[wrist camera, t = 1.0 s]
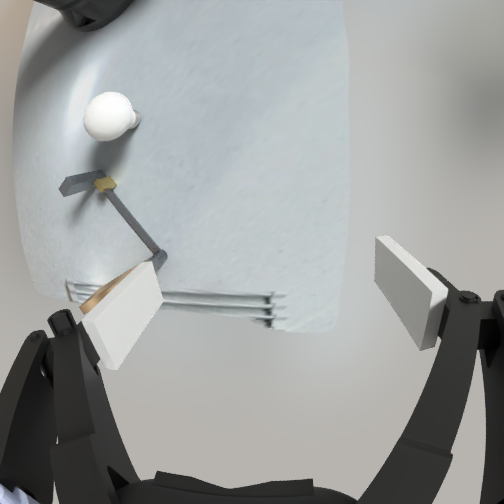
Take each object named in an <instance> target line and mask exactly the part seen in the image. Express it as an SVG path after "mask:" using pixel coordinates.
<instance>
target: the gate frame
mask: <svg viewBox="0 0 504 504" xmlns="http://www.w3.org/2000/svg"><path fill="white" fill-rule="evenodd" d="M116 186H117V185H116V183H115V182H114V181H113V179H112V178H111V177H110V176H109V177H106V176H105V175H104V173H103V172H102V171H101V170H98V171H93V172H88V173H83V174H78V175H73V176H69V177H66V178H65V180H64V181H63V183H62V185H61V186H60V188H59V190H60V192H61V193H62V195H63V196H64V197H66V196H69V195H72V194H76V193H79V192H82V191H85V190H89V189H92V188H96V187H97V189H98V190H99V191H100V193H101V192H105V194H106V195H107V196H108V198H109V199H110V200H111V201H112V203H113V204H114V205H115V207H116V208H117V209H118V210H119V212H120V213H121V214H122V215H123V217H124V218H125V219H126V220H127V222H128V223H129V224H130V225H131V227H132V228H133V229H134V230H135V231H136V233H137V234H138V235H139V236H140V237H141V239H142V240H143V241H144V242H145V243H146V245H147V246H148V247H149V248H150V249H151V250H152V252H153V253H154V255H153V256H152V257H150V258H149V259H148V260H147V261H146V262H149V261H152V263H153V267H154V270H155V271H156V270H157V269H158V268H159V267H160V266H161V265H162V264H163V263H164V262H165V260H166V259H167V253H166V252H165V251H164V250H161V249H160V248H159V247H158V246H157V244H156V243H155V242H154V241H153V240H152V239H151V237H150V236H149V235H148V234H147V233H146V231H145V230H144V229H143V228H142V227H141V225H140V224H139V223H138V222H137V221H136V219H135V218H134V217H133V216H132V214H131V213H130V212H129V211H128V209H127V208H126V207H125V206H124V204H123V203H122V202H121V201H120V199H119V198H118V197H117V196H116V194H115V193H114V192H113V190H112V189H114V188H115V187H116Z"/></svg>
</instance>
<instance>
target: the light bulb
mask: <svg viewBox="0 0 504 504" xmlns="http://www.w3.org/2000/svg"><path fill="white" fill-rule="evenodd" d="M140 120H141V117H140V114H139V113H138V112H137V111H134V110H132V107H131V104H130V102H129V101H128V99H127V98H126V97H125V96H123V95H122V94H120V93H117V92H106V93H102V94H100V95H98V96H97V97H95V98H94V99H93V100H92V101H91V102H90V103H89V104H88V106H87V108H86V110H85V113H84V127H85V129H86V131H87V132H88V134H89V135H90V136H91V137H93V138H94V139H96V140H100V141H110V140H114V139H116V138H118V137H119V136H121V135H122V134H123V133H124V132H125V131H126V130H127V129H133V128H135V127H136V126H137V125H138V124H139V122H140Z"/></svg>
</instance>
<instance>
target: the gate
mask: <svg viewBox="0 0 504 504" xmlns="http://www.w3.org/2000/svg"><path fill="white" fill-rule="evenodd" d="M147 260H148V259H147ZM147 260H145V261H143V262H146V261H147ZM138 265H139V264H138ZM138 265H137V266H138ZM137 266H135V267H133V268H132V269H130V270H129V271H127V272H125V273H124V274H122V275H120V276H119V277H117V278H115V279H114V280H112V281H111V282H109V283H107V284H106V285H104V286H103V287H101V288H99V289H98V290H97V291H96V292H95V293H94V294H93V295H92V296H91V297H90V298H88V299H87V300H86V301H85V302H84V303H83V304H82V305H81V306H80V307H79V308H80V309H81V311H82V312H83V313H84V314H86V313H88V312H89V311H91V310H92V309H93V308H94V307H95V306H96V305H97V304H98V303H99V302H100V301H101V300H102V299H103V298H104V297H105V296H106V295H107V294H108V293H109V292H110V291H111V290H112V289H113V288H114V287H116V286H117V285H118V284H119V283H120V282H121V281H122V280H123V279H124V278H125V277H126V276H127V275H128V274H129V273H130V272H131V271H133V270H134V269H135V268H136V267H137Z"/></svg>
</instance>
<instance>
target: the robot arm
mask: <svg viewBox="0 0 504 504" xmlns="http://www.w3.org/2000/svg"><path fill="white" fill-rule="evenodd" d="M34 1H36V2H39V3H42V4H44V5H47V6H49V7H51V8H54V9H56V10H58V11H59V12H60V13H61V15H62V16H63V17H64V19H65V20H66V21H67V23H68V24H69V25H70V26H71V27H73V28H75V29H77V30H79V31H83V32H87V31H93V30H96V29H98V28H101V27H103V26H104V25H106V24H108V23H109V22H111V21H112V20H114V19H115V18H116V17H118V16H119V15H120V14H121V13H122V12H123V11H124V10H125V9H126V8H127V7H128V6H129V5H130V3H131V2H132V1H133V0H34ZM375 248H376V249H375V280H374V281H375V282H376V284H377V285H378V286H379V288H380V289H381V291H382V292H383V294H384V295H385V297H386V298H387V300H388V301H389V302H390V304H391V306H392V307H393V309H394V310H395V312H396V313H397V315H398V316H399V318H400V319H401V321H402V323H403V324H404V326H405V327H406V329H407V330H408V332H409V334H410V335H411V337H412V339H413V340H414V342H415V343H416V345H417V347H418V348H419V350H420V351H421V350H425V349H428V348H432V347H435V344H436V341H437V337H438V336H439V337H440V338H441V343H440V346H439V350H438V353H437V356H436V358H435V361H434V364H433V367H432V369H431V372H430V375H429V377H428V380H427V382H426V385H425V387H424V389H423V392H422V394H421V396H420V399H419V401H418V403H417V405H416V407H415V409H414V411H413V414H412V416H411V418H410V420H409V422H408V424H407V426H406V427H405V429H404V431H403V433H402V435H401V437H400V438H399V440H398V441H397V443H396V445H395V446H394V448H393V450H392V452H391V453H390V455H389V457H388V458H387V460H386V461H385V463H384V465H383V466H382V468H381V469H380V471H379V472H378V474H377V475H376V477H375V478H374V480H373V481H372V482H371V484H370V485H369V487H368V488H367V489H366V491H365V492H364V494H363V495H362V496H361V497H360V499H359V500H358V501H357V500H356V499H354V498H352V497H350V496H348V495H346V494H344V493H341V492H338V491H335V490H331V489H326V488H321V487H313V479H304V480H289V481H270V482H266V483H261V484H257V485H251V486H245V487H240V488H233V489H227V488H223V487H220V486H216V485H213V484H210V483H207V482H204V481H202V480H199V479H196V478H193V477H189V476H183V475H176V474H171V473H166V472H161V471H157V472H156V475H155V478H154V479H149V480H143V481H141V480H140V479H139V478H138V476H137V474H136V472H135V470H134V468H133V465H132V463H131V461H130V458H129V456H128V454H127V452H126V449H125V447H124V444H123V442H122V439H121V436H120V434H119V431H118V428H117V425H116V423H115V420H114V417H113V414H112V411H111V408H110V404H109V401H108V398H107V395H106V391H105V388H104V384H103V380H102V377H101V373H100V369H99V368H98V366H97V363H98V361H99V360H101V362H102V363H103V365H104V367H105V369H111V370H118V369H119V367H120V366H121V364H122V363H123V361H124V360H125V358H126V356H127V355H128V353H129V352H130V350H131V349H132V347H133V346H134V344H135V343H136V341H137V340H138V338H139V336H140V335H141V333H142V332H143V330H144V329H145V328H146V326H147V325H148V323H149V322H150V320H151V319H152V317H153V316H154V314H155V313H156V311H157V310H158V308H159V307H160V305H161V304H162V302H163V297H162V294H161V291H160V288H159V284H158V281H157V277H156V274H155V270H154V267H153V263H152V261H149V262H141V263H140V264H139V265H138V266H137V267H136V268H135V269H134V270H133V271H131V272H130V273H129V274H128V275H127V276H126V277H125V278H124V279H123V280H122V281H121V282H120V283H119V284H118V285H117V286H116V287H114V288H113V289H112V290H111V291H110V292H109V293H108V294H107V295H106V296H105V297H104V298H103V299H102V300H101V301H100V302H99V303H98V304H97V305H96V306H95V307H94V308H93V309H92V310H91V311H90V312H89V313H88V314H87V315H86V316H85V317H84V318H83V319H82V320H81V322H80V323H79V324H78V325H76V322H75V320H74V318H73V316H72V313H71V312H70V310H68V309H63V310H60V311H57V312H55V313H54V314H52V315H51V316H50V317H49V318H48V320H47V321H48V323H49V325H50V327H51V329H52V331H53V333H54V335H55V337H54V338H48V337H47V335H46V333H45V331H44V330H38V331H34V332H32V333H30V335H29V336H28V337H27V338H26V340H25V341H24V343H23V345H22V347H21V349H20V351H19V353H18V355H17V357H16V359H15V361H14V363H13V365H12V367H11V370H10V372H9V374H8V376H7V378H6V381H5V383H4V386H3V388H2V390H1V393H0V504H52V502H53V488H54V486H53V485H54V482H55V487H56V492H57V496H58V500H59V504H432V502H433V500H434V499H435V497H436V495H437V493H438V491H439V489H440V487H441V485H442V483H443V480H444V478H445V476H446V474H447V472H448V469H449V467H450V464H451V461H452V457H453V454H451V449H452V445H453V443H454V440H455V437H456V434H457V432H458V428H459V425H460V422H461V419H462V416H463V412H464V409H465V405H466V401H467V397H468V393H469V389H470V385H471V380H472V376H473V370H474V365H475V359H476V352H477V350H479V352H480V358H481V365H482V373H483V381H484V390H485V391H484V392H485V407H486V450H485V465H484V475H483V483H482V491H481V498H480V504H504V290H499V291H497V292H496V293H495V295H494V299H493V301H490V302H489V301H485V302H482V301H481V298H480V297H479V296H478V295H477V294H475V293H473V292H470V291H459V290H457V289H456V288H455V287H454V286H453V285H452V284H451V283H450V282H449V281H447V280H446V279H445V278H444V277H443V276H442V275H441V274H440V273H439V272H437V271H435V270H433V269H431V268H425V267H424V266H423V265H422V264H420V263H419V262H418V261H417V260H416V259H415V258H414V257H412V256H411V255H410V254H409V253H408V252H407V251H405V250H404V249H403V248H402V247H401V246H399V245H398V244H397V243H396V242H395V241H394V240H392V239H391V238H390V237H389V236H378V237H376V246H375ZM41 371H42V372H43V374H44V376H43V374H42V372H41ZM57 436H58V444H56V442H57Z"/></svg>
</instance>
